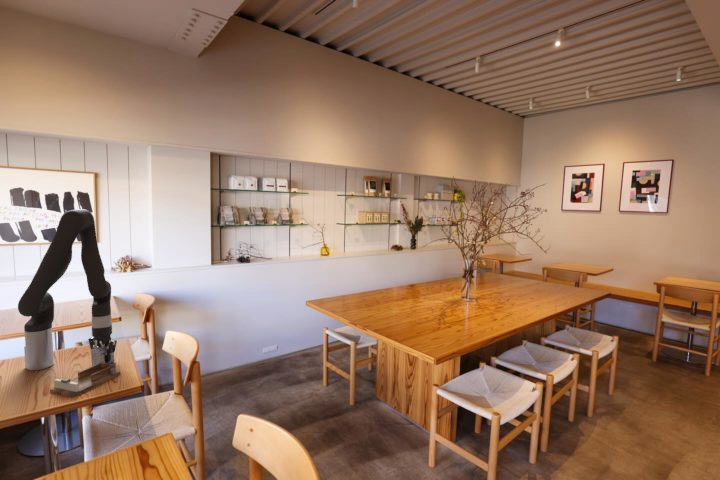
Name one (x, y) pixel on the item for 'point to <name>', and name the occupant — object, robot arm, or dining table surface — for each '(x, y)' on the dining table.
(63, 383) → the gate
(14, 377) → the dining table surface
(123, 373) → the dining table surface
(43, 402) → the dining table surface
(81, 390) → the housing
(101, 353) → the medicine box
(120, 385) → the dining table surface
